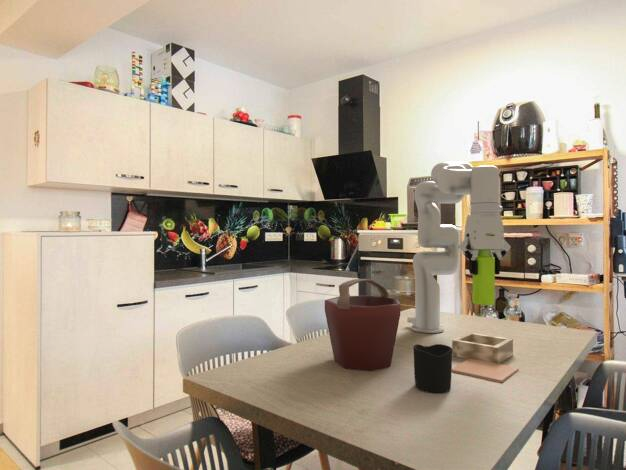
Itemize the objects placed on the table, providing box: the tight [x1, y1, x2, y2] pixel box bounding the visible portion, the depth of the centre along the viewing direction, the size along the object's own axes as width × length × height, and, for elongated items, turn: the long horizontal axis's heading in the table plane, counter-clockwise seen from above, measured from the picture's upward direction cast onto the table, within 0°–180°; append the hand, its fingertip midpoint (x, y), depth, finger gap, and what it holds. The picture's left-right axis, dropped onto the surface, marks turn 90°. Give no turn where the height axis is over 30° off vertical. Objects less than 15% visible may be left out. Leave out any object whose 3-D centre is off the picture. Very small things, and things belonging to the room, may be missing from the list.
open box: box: [451, 332, 514, 364], centre depth 137 cm, size 14×14×5 cm
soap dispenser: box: [471, 234, 496, 306], centre depth 121 cm, size 6×7×20 cm
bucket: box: [324, 278, 401, 372], centre depth 130 cm, size 24×22×25 cm
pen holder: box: [412, 343, 453, 394], centre depth 108 cm, size 9×9×10 cm
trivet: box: [451, 359, 520, 383], centre depth 121 cm, size 14×14×1 cm
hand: (484, 273), depth 121 cm, fingers closed on soap dispenser, 5 cm apart
